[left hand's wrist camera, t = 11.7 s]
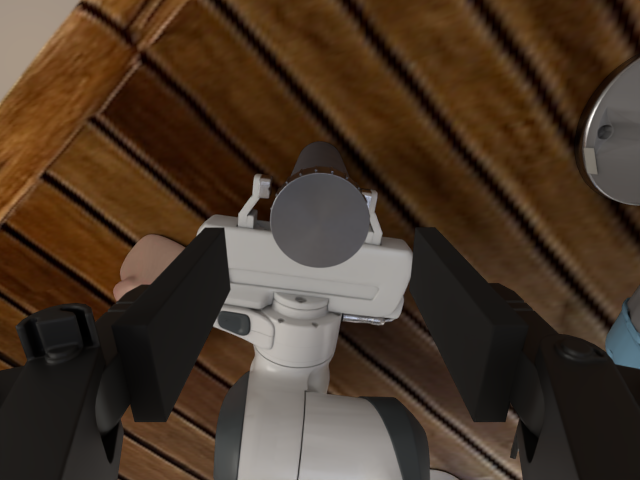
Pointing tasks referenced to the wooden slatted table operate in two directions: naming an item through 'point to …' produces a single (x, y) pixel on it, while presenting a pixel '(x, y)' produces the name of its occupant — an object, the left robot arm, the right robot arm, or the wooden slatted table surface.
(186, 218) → the wooden slatted table surface
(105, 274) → the wooden slatted table surface
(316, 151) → the dark grey cylinder
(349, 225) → the lid
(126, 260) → the anatomical model
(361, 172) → the wooden slatted table surface
